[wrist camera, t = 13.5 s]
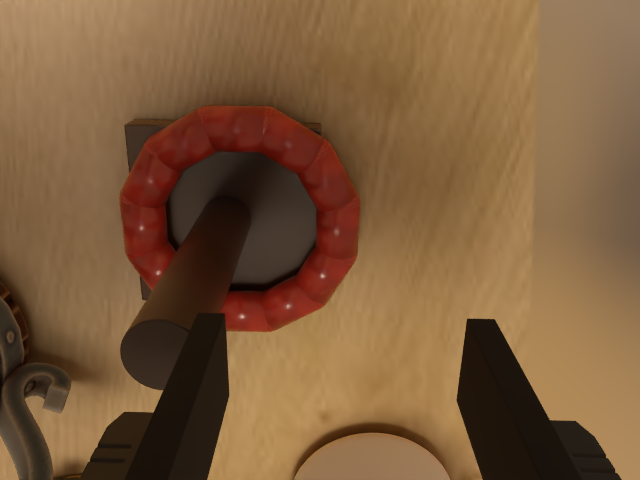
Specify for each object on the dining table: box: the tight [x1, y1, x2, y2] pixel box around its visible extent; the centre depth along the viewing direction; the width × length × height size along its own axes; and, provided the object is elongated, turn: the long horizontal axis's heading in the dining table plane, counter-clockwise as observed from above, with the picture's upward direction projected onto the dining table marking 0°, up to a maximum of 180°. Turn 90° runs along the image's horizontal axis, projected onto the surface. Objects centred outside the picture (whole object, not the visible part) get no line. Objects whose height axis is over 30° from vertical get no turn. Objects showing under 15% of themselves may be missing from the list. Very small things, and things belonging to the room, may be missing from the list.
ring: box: [119, 105, 360, 332], centre depth 27 cm, size 11×11×2 cm
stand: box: [120, 119, 321, 390], centre depth 23 cm, size 9×9×14 cm
